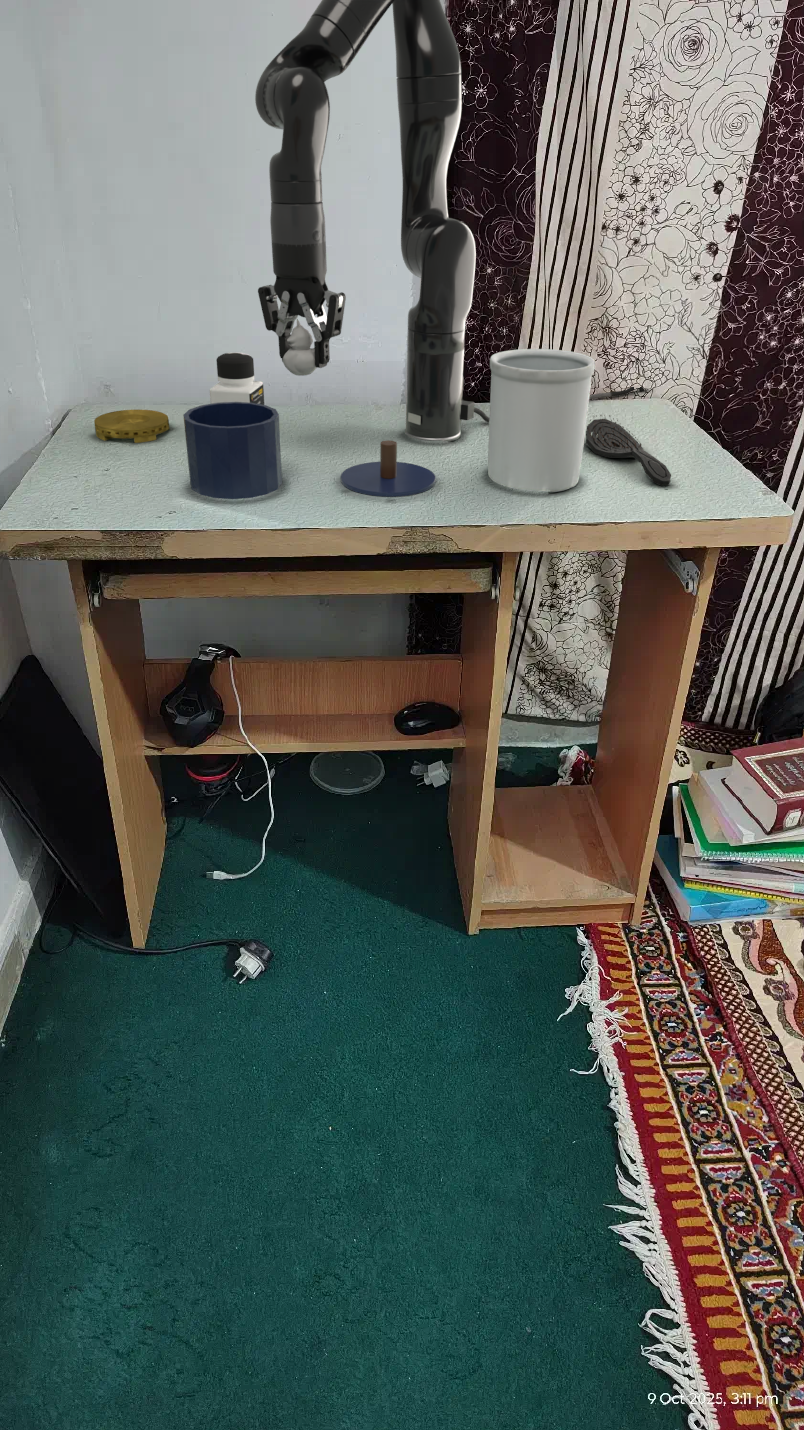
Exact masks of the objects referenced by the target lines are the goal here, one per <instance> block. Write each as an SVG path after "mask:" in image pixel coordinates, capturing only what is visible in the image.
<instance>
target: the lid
mask: <svg viewBox="0 0 804 1430" xmlns="http://www.w3.org/2000/svg"><path fill="white" fill-rule="evenodd" d="M379 446H380V447H379V448H380V449H379V450H380V451H379V453H380V455H379V456H380V457H379V458H380V459H379V461H371V462H363V463H359V464H356V465H351V466H350V467H348V468H346V469H344V471H342V472H341V474H340V482H341V484H342V485H343V487H344V488H346V489H348V490H350V491H353V492H355V493H358V494H362V495H367V496H374V497H388V498H389V497H390V498H391V497H406V496H412V495H417V494H420V493H425V492H426V491H427V492H428V491H429V490H431V489H432V488H433V487H434V486H435V485H436V481H437V477H436V475H435V473H434V472H433V471H432V470H431V469H428V468H427V467H424V466H422V465H418V464H414V463H409V462H403V461H398V443H397V441H395V440H391V439H390V440H389V439H388V440H387V439H386V440H381V441H380V445H379Z"/></svg>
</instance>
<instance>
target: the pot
mask: <svg viewBox="0 0 804 1430" xmlns="http://www.w3.org/2000/svg"><path fill="white" fill-rule="evenodd" d="M182 416H183V424H184V435H185V444H186V456H187V465H188V475H189V485H190V489H191V490H192V491H193V492H195V493H196V494H199V495H201V496H203V497H209V498H213V499H223V500H241V499H253V498H257V497H260V496H266V495H269V494H272V493H273V492H275V491H278V489H279V488H280V487H281V486H282V484H283V473H282V454H281V453H282V452H281V451H282V450H281V432H280V414H279V412H278V411H277V409H276V408H274V407H271V406H269V405H267V404H264V405H262V404H256V403H248V402H220V403H212V404H211V403H206V404H201V405H197V406H194V407H192V408H190V409H188V410H187V411H186V412H184V413H183V414H182Z"/></svg>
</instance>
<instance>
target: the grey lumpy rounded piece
mask: <svg viewBox="0 0 804 1430" xmlns="http://www.w3.org/2000/svg"><path fill="white" fill-rule="evenodd" d="M290 335H291V336H290V337H289V338H288V339H287V341H288V342H290V343H289V345H290V346H291V347H292V348H290V349H289V350H288V351H287V352H286V354H285V355H284V357H283V362H282V363H283V365H284V367H285V369H287V370H288V371H289V372H290V373H291V374H292V375H294V376H297V377H302V376H309V375H311V374H313V373H314V371H316V369H318V368H317V367H316V366H315V349H314V347H312V344H313V343H314V339H313V335H312V334H311V332H310V331H309V330H308V329H306V328H305V327H304V326H303V325H302V324H301V323H300V321H299V320H298V318H297V319H296V326H294V327H293V328H292V332H291V333H290ZM311 347H312V348H311Z"/></svg>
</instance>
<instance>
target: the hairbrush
mask: <svg viewBox="0 0 804 1430" xmlns="http://www.w3.org/2000/svg"><path fill="white" fill-rule="evenodd" d="M599 416H600V417H601V418H597V417H598V414H596V415H593V416H592V418H594V419H590V420H589V423H588V424H587V425H586V429H585V444H586V445H587V446H588V447H589V448H590V450H591V451H592V452H593V453H594V454H595V455H597V456H600V457H603V458H610V459H611V458H612V459H627V458H633V459H635V460H636V461H637V462H639V463H640V465H641V467H642V470H643V471H644V473H645V475H647V477H648V478H649V479H650V480H651V481H652V482H653V483H654V484H656V485H659V486H660V487H663V488H664V487H669V486H670V484H671V481H672V480H671V478H672V474H671V472H670V470H669V468H668V467H667V465H666V464H665V463H663V462H662V461H660V460H659V459H658V458H656V457H655V456H654V455H652V454H650V453H648V452H647V451H645V450H644V448H643V447H642V443H641V442H639V439H638V438H637V437H636V436H634V433H631V431H630V430H627V429H625V427H624V426H623V425H621V424H622V423H621V422H620V423H618V422H619V419H617V420H616V421H617V422H616V421H615V419H614V417H613V418H612V419H613V420H612V419H611V417H612V416H611V414H609V415H608V417H609V419H610V420H609V419H607V418H606V414H604V415H603V416H604V418H603V417H602V414H599Z"/></svg>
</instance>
